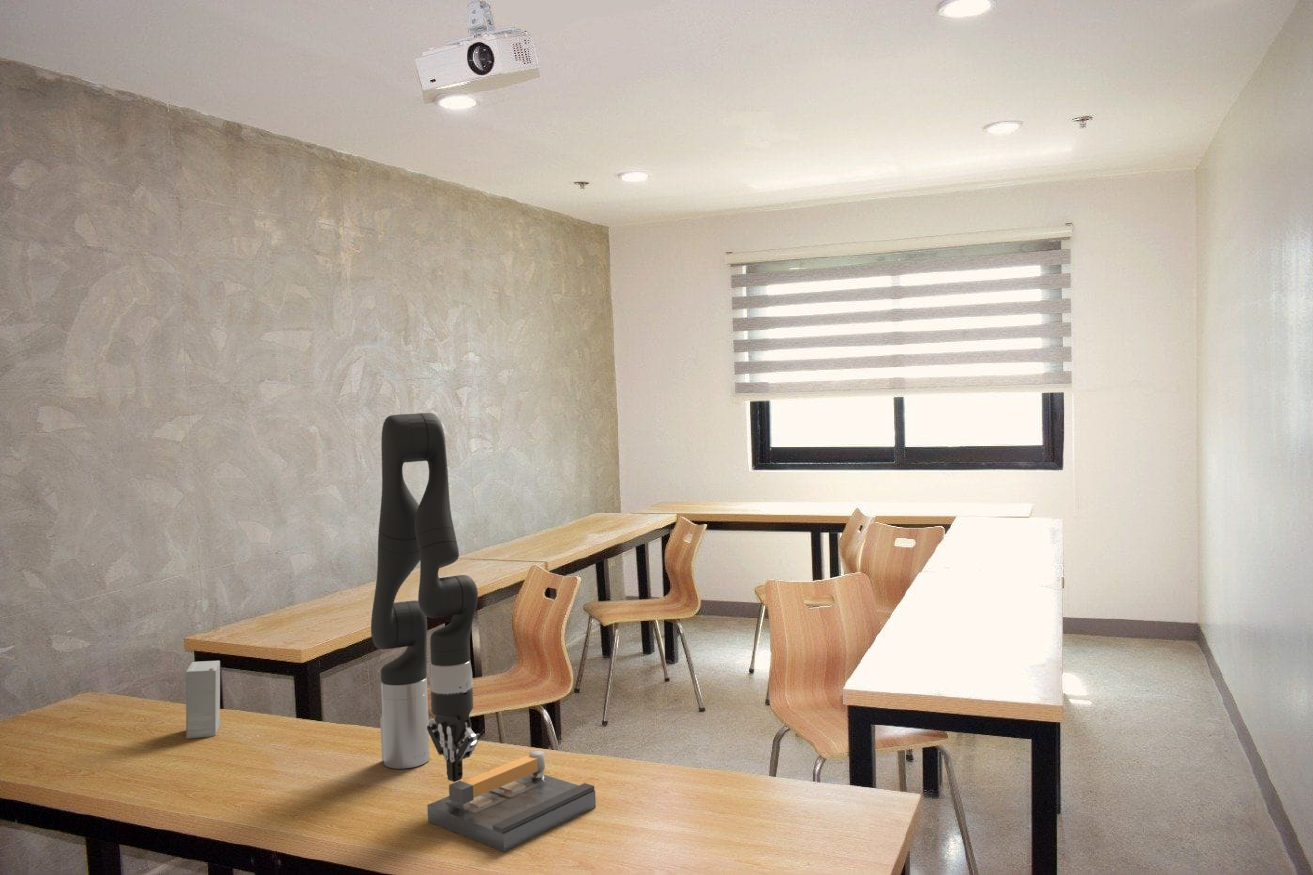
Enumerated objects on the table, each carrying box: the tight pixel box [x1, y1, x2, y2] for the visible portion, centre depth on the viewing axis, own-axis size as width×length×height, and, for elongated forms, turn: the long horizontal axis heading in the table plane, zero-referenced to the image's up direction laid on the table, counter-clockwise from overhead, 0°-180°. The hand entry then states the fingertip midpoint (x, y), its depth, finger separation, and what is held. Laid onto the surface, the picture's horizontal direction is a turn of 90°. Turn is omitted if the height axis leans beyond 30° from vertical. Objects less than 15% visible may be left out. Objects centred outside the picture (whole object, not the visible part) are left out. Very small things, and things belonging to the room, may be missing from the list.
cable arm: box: [448, 750, 546, 805], centre depth 176 cm, size 4×21×3 cm, turn 140°
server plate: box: [426, 769, 597, 853], centre depth 173 cm, size 20×22×4 cm
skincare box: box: [185, 660, 221, 740], centre depth 224 cm, size 8×7×16 cm
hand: (455, 779), depth 177 cm, fingers closed
